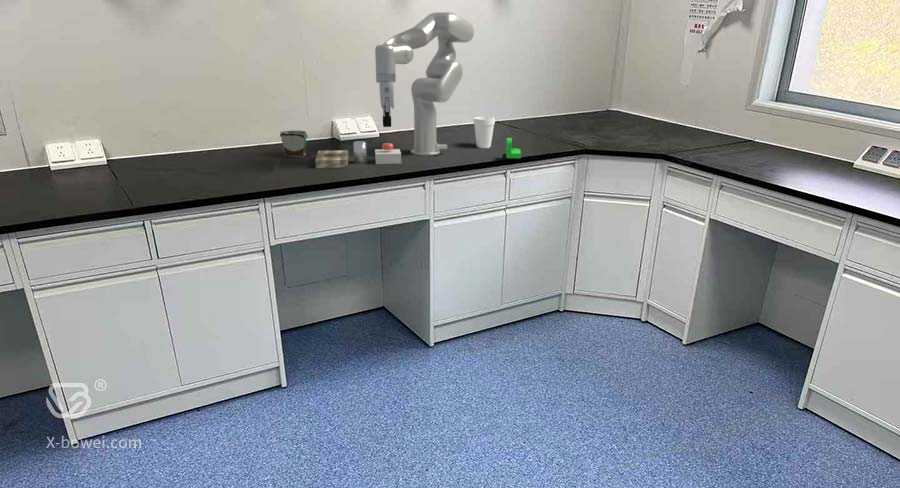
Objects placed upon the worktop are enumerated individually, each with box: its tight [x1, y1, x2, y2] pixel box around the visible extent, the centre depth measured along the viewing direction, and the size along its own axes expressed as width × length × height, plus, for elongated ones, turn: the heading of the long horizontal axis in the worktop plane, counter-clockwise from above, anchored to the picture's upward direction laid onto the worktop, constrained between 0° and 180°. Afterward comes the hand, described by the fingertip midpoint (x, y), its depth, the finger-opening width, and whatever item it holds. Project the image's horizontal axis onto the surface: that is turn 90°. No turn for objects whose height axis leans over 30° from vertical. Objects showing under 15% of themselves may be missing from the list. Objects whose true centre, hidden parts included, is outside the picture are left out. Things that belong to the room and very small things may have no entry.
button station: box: [374, 148, 402, 165], centre depth 242 cm, size 10×10×4 cm
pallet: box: [314, 149, 349, 169], centre depth 239 cm, size 12×20×3 cm, turn 8°
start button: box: [381, 142, 394, 150], centre depth 241 cm, size 4×4×2 cm
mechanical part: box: [505, 137, 522, 159], centre depth 257 cm, size 12×6×8 cm, turn 176°
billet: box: [353, 140, 368, 164], centre depth 240 cm, size 5×5×8 cm
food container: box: [279, 130, 308, 158], centre depth 252 cm, size 12×6×10 cm, turn 71°
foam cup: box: [473, 116, 496, 149], centre depth 274 cm, size 10×9×13 cm
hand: (387, 126), depth 238 cm, fingers closed
